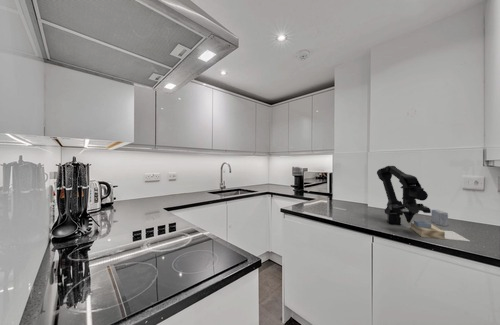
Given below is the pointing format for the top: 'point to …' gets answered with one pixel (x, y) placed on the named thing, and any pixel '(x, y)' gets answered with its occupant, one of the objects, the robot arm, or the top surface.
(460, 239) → the mat
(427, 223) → the tile
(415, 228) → the deck
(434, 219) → the medicine box
